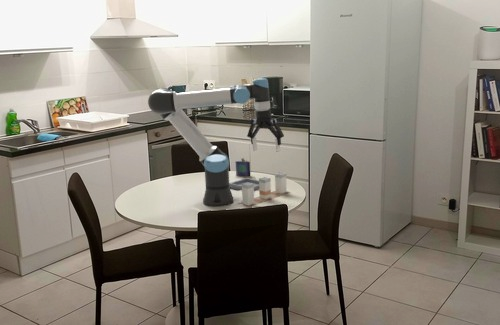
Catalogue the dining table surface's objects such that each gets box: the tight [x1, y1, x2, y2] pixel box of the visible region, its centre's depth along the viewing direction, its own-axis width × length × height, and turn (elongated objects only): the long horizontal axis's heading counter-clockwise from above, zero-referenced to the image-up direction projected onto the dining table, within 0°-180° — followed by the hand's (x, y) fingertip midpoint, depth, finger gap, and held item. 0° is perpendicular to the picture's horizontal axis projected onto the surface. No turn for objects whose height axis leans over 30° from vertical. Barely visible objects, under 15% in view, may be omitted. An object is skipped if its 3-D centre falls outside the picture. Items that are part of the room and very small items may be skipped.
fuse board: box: [238, 190, 291, 208], centre depth 254 cm, size 30×8×1 cm, turn 135°
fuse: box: [241, 182, 255, 207], centre depth 244 cm, size 4×4×10 cm
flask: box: [234, 157, 251, 178], centre depth 300 cm, size 9×3×11 cm, turn 65°
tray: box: [229, 177, 259, 191], centre depth 276 cm, size 14×16×2 cm
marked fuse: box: [258, 176, 272, 200], centre depth 253 cm, size 4×4×10 cm
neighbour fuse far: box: [274, 171, 288, 194], centre depth 261 cm, size 4×4×10 cm
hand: (266, 150), depth 259 cm, fingers open, 13 cm apart
